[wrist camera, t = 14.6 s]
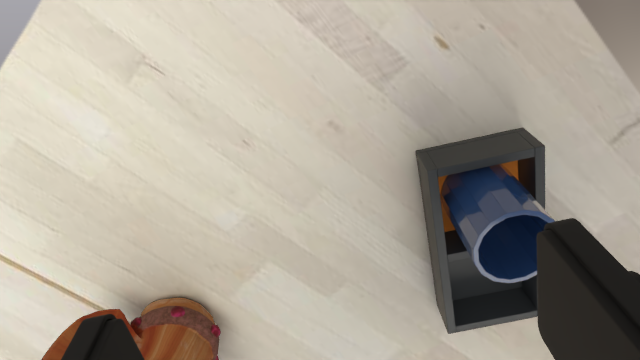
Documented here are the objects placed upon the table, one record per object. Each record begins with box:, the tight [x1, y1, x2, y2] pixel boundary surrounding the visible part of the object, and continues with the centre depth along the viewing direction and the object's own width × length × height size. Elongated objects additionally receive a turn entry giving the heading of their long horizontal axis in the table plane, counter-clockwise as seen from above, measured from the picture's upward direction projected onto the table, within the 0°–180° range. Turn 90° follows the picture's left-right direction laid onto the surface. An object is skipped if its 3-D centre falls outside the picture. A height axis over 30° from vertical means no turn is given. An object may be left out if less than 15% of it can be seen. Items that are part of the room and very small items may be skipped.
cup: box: [441, 164, 555, 283], centre depth 40 cm, size 6×6×9 cm
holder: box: [416, 128, 545, 334], centre depth 44 cm, size 9×18×4 cm, turn 12°
